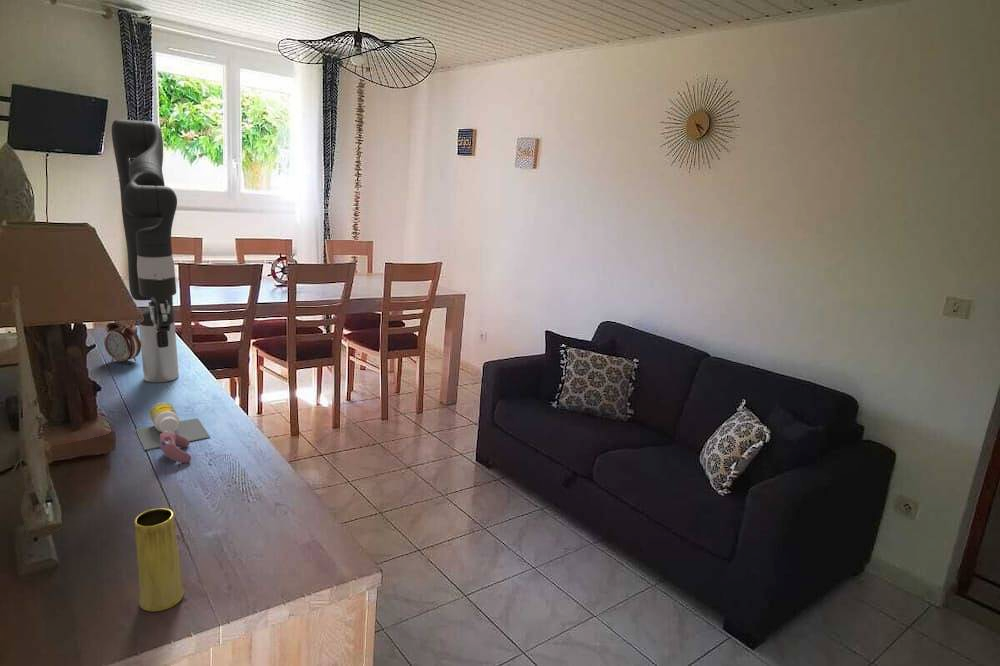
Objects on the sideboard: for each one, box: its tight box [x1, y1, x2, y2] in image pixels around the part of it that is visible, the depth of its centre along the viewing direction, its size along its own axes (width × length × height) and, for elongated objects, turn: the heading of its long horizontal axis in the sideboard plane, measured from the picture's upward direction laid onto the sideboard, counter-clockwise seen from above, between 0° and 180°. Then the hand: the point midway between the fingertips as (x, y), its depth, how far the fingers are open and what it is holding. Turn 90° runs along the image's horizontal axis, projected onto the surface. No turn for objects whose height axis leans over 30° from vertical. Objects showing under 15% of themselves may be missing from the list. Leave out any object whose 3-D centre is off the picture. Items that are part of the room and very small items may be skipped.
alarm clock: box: [103, 322, 141, 365], centre depth 198 cm, size 11×5×15 cm, turn 73°
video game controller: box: [160, 429, 192, 464], centre depth 141 cm, size 10×5×7 cm, turn 28°
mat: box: [135, 417, 211, 451], centre depth 152 cm, size 13×14×1 cm
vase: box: [133, 507, 185, 612], centre depth 95 cm, size 6×6×14 cm
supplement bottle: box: [149, 402, 180, 432], centre depth 153 cm, size 5×5×10 cm
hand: (162, 346), depth 148 cm, fingers closed
